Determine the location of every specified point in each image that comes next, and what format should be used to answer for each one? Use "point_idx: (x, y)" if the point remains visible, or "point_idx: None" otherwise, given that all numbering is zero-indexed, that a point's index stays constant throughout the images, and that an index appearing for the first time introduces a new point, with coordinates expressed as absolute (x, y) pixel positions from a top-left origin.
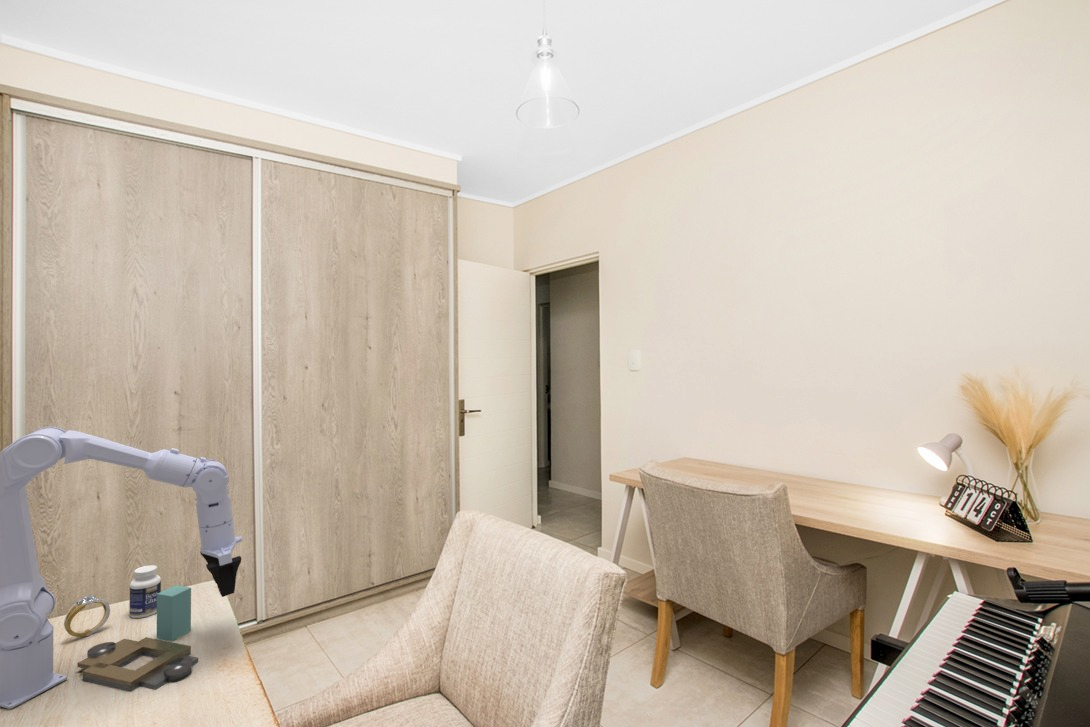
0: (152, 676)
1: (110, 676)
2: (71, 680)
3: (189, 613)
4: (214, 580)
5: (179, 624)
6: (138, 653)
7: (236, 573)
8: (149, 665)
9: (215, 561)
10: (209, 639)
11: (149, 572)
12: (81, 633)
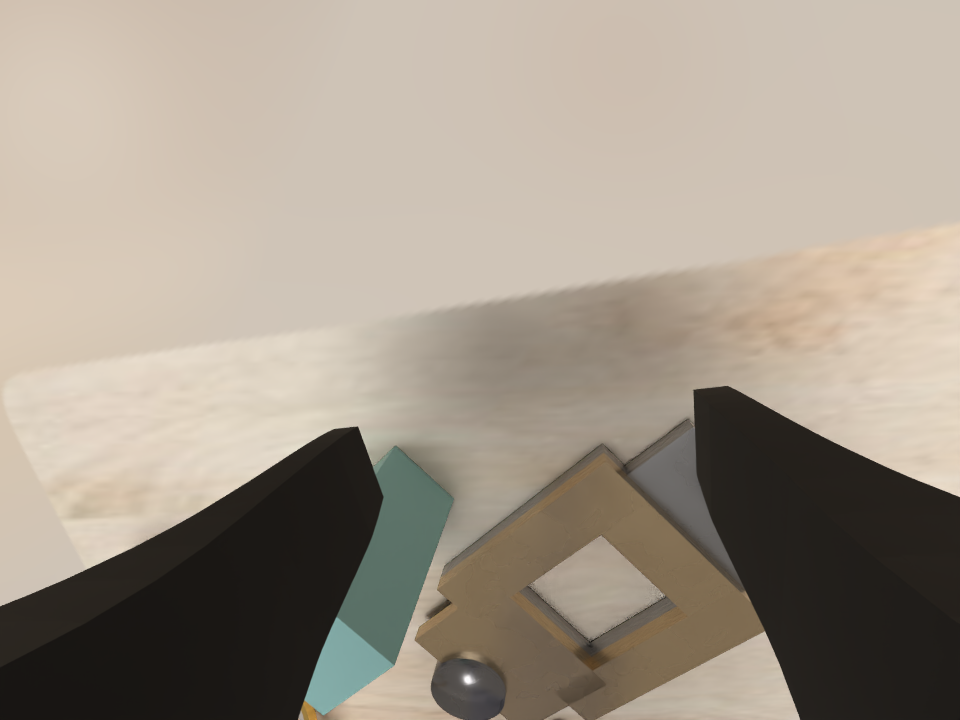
0: None
1: (683, 670)
2: (569, 710)
3: None
4: (374, 524)
5: (417, 511)
6: (522, 594)
7: (953, 498)
8: (682, 581)
9: (263, 680)
10: (507, 383)
11: None
12: (307, 712)
